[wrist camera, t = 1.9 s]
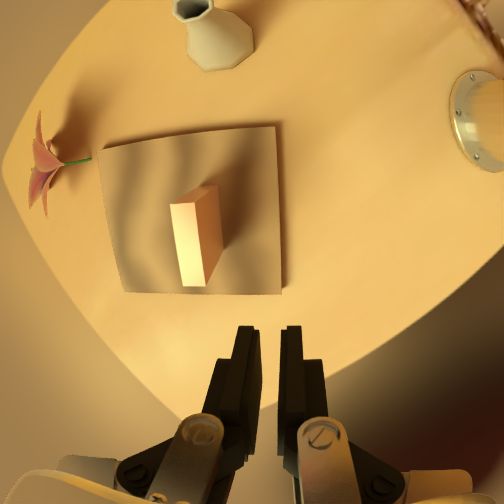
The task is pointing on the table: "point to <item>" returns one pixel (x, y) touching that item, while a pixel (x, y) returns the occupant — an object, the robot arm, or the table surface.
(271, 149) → the board
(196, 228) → the tile
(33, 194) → the lily
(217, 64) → the flask
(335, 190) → the table surface
